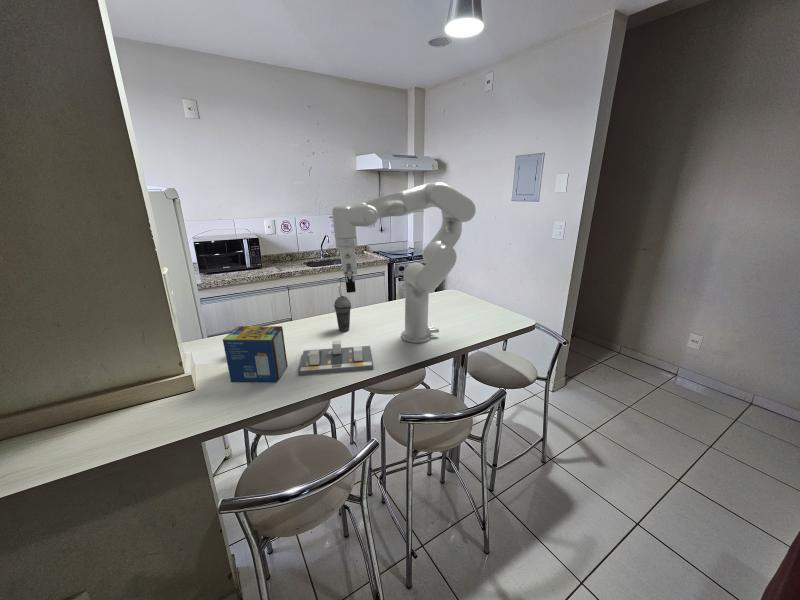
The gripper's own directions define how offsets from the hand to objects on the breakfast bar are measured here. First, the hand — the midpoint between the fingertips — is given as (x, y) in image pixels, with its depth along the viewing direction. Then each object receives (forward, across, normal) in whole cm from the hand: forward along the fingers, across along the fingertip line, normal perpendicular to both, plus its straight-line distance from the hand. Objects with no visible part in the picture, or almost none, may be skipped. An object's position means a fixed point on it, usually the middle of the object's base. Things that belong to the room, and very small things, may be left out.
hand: (350, 288), depth 121 cm
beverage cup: (+24, +17, +4) cm, 30 cm away
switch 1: (+22, -14, +15) cm, 30 cm away
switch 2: (+22, -14, 0) cm, 26 cm away
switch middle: (+22, -7, +7) cm, 24 cm away
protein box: (+23, -15, +33) cm, 43 cm away
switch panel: (+24, -10, +7) cm, 27 cm away
